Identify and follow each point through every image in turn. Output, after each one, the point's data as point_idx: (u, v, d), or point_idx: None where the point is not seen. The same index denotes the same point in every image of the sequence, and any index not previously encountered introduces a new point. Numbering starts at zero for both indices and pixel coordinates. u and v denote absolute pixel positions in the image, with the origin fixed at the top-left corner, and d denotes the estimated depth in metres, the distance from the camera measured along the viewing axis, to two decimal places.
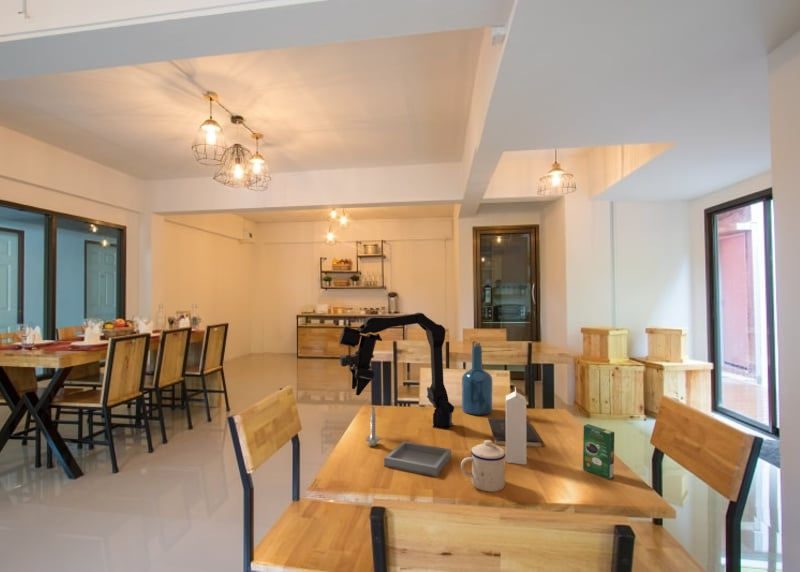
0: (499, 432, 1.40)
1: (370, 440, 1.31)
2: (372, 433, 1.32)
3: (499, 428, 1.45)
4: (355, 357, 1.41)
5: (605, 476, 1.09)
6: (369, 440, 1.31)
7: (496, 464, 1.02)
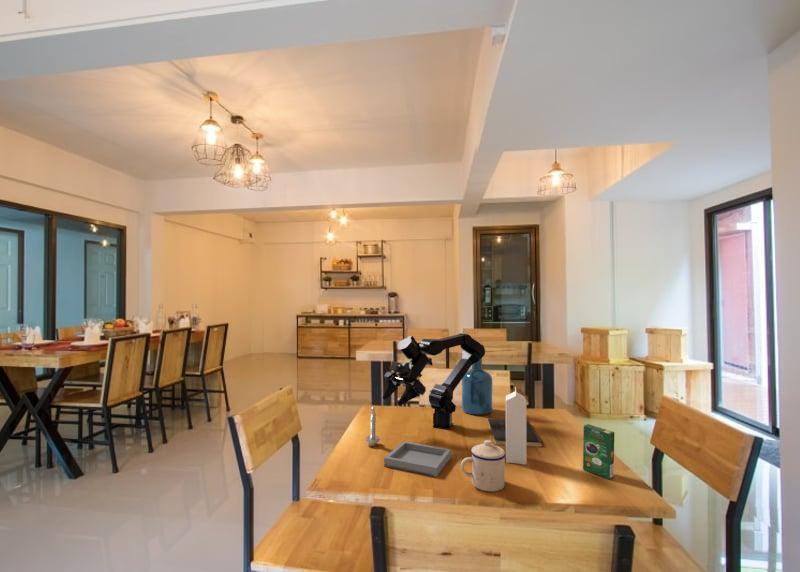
0: (499, 432, 1.40)
1: (370, 440, 1.31)
2: (372, 433, 1.32)
3: (499, 428, 1.45)
4: (408, 368, 1.39)
5: (605, 476, 1.09)
6: (369, 440, 1.31)
7: (496, 464, 1.02)
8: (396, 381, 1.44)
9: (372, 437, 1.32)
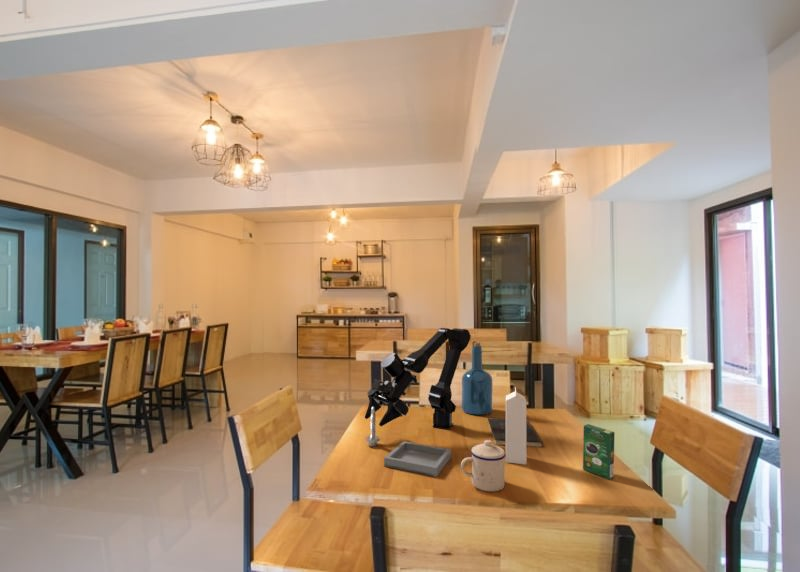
0: (499, 432, 1.40)
1: (370, 440, 1.31)
2: (372, 433, 1.32)
3: (498, 428, 1.45)
4: (391, 387, 1.35)
5: (605, 476, 1.09)
6: (369, 440, 1.31)
7: (496, 464, 1.02)
8: (379, 399, 1.39)
9: (372, 437, 1.32)
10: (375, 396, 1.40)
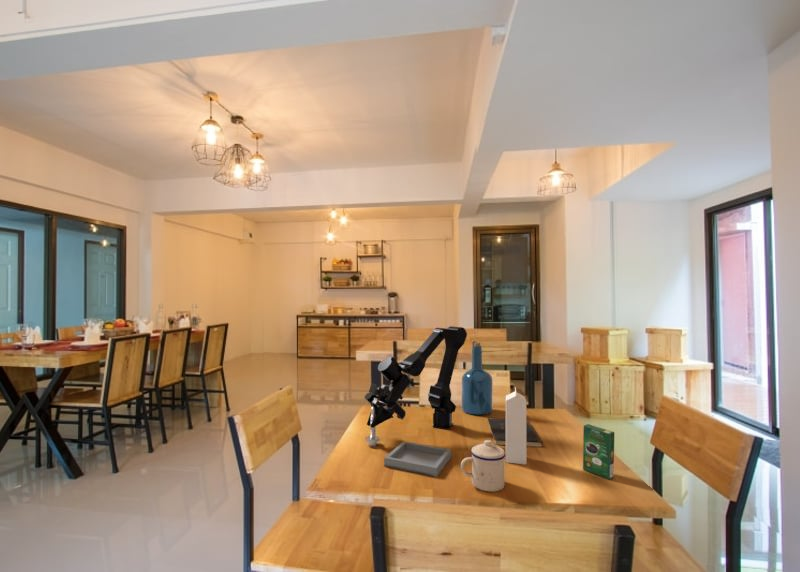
0: (499, 432, 1.40)
1: (370, 440, 1.31)
2: (372, 433, 1.32)
3: (498, 428, 1.45)
4: (388, 391, 1.34)
5: (605, 476, 1.09)
6: (369, 440, 1.31)
7: (496, 464, 1.02)
8: None
9: (372, 437, 1.32)
10: (377, 402, 1.37)
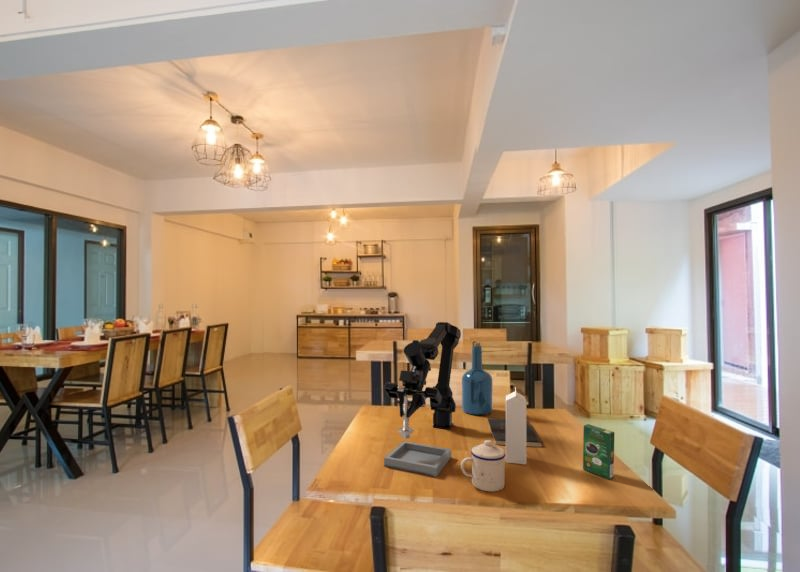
0: (499, 432, 1.40)
1: (406, 432, 1.20)
2: (406, 424, 1.21)
3: (498, 428, 1.45)
4: None
5: (605, 476, 1.09)
6: (405, 432, 1.20)
7: (496, 464, 1.02)
8: None
9: (406, 429, 1.21)
10: (404, 390, 1.26)
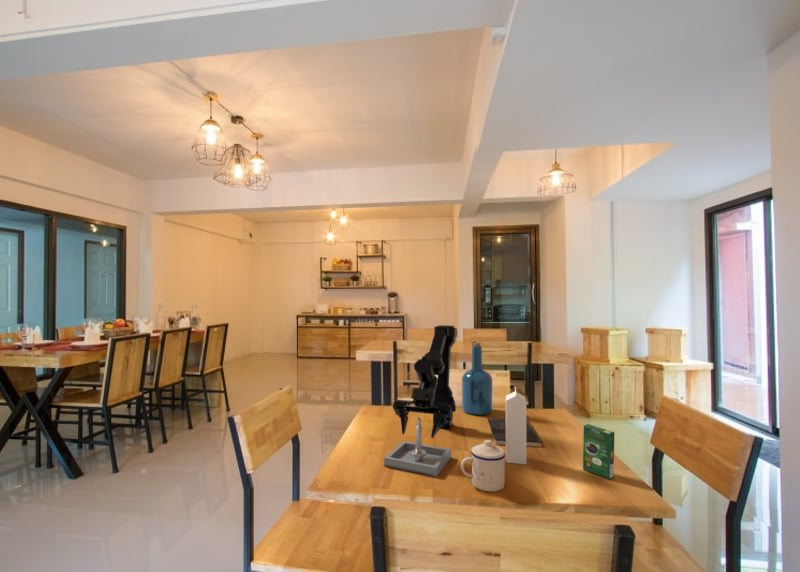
0: (499, 432, 1.40)
1: (420, 455, 1.18)
2: (419, 447, 1.19)
3: (498, 428, 1.45)
4: None
5: (605, 476, 1.09)
6: (419, 455, 1.18)
7: (496, 464, 1.02)
8: (410, 410, 1.25)
9: (419, 451, 1.19)
10: (404, 407, 1.25)
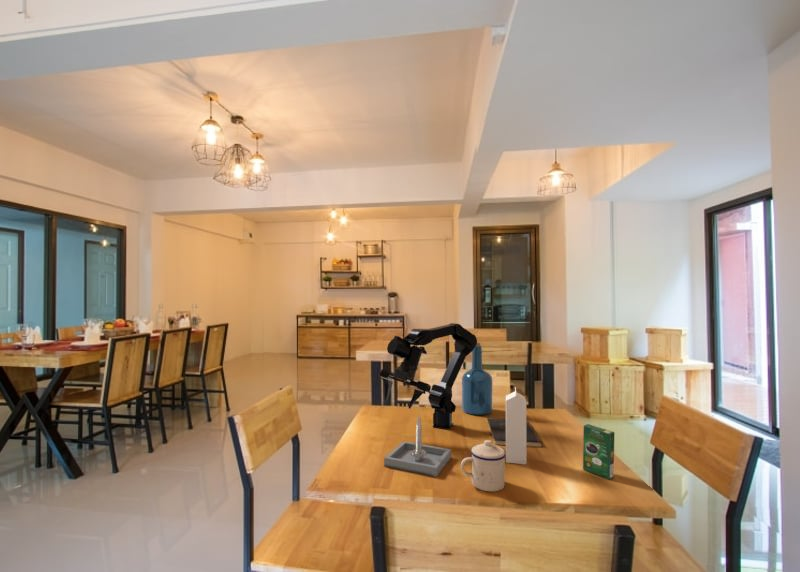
0: (498, 432, 1.40)
1: (420, 455, 1.18)
2: (419, 446, 1.19)
3: (498, 428, 1.45)
4: None
5: (605, 476, 1.09)
6: (419, 455, 1.18)
7: (496, 464, 1.02)
8: (394, 379, 1.42)
9: (419, 451, 1.19)
10: (389, 377, 1.42)
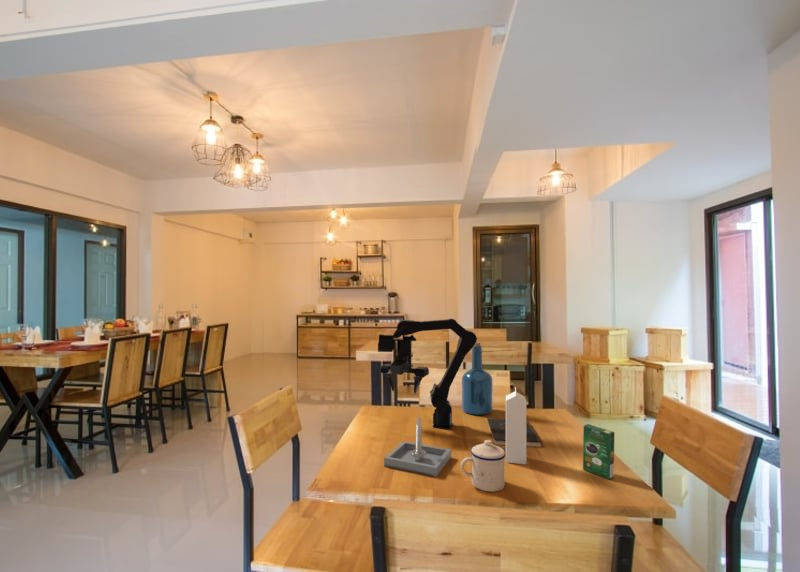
0: (498, 432, 1.40)
1: (420, 455, 1.18)
2: (419, 446, 1.19)
3: (498, 428, 1.45)
4: (405, 362, 1.48)
5: (605, 476, 1.09)
6: (419, 455, 1.18)
7: (496, 464, 1.02)
8: None
9: (419, 451, 1.19)
10: (389, 371, 1.53)
